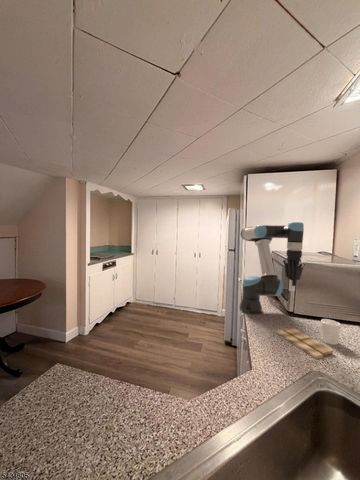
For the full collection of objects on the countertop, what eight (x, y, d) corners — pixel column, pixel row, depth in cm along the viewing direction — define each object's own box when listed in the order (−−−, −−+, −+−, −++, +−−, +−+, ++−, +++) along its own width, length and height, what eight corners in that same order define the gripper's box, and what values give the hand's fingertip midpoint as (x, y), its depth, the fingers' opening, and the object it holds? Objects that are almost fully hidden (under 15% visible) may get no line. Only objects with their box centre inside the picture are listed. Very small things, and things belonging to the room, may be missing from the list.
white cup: (339, 347, 98) (340, 327, 98) (319, 342, 103) (320, 322, 102) (339, 340, 104) (340, 321, 104) (320, 335, 109) (321, 317, 109)
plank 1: (283, 331, 113) (283, 329, 113) (292, 329, 114) (292, 327, 114) (300, 341, 102) (300, 339, 102) (309, 339, 104) (309, 336, 104)
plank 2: (302, 342, 101) (302, 340, 101) (311, 340, 103) (311, 337, 103) (323, 355, 91) (323, 353, 91) (333, 352, 92) (333, 349, 92)
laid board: (275, 332, 112) (275, 330, 112) (282, 331, 113) (282, 329, 113) (315, 358, 89) (315, 355, 89) (323, 357, 90) (323, 354, 90)
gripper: (280, 248, 119) (277, 287, 121) (298, 251, 107) (296, 295, 109) (290, 248, 121) (287, 286, 123) (309, 251, 109) (306, 294, 111)
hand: (291, 290), depth 116 cm, fingers closed
